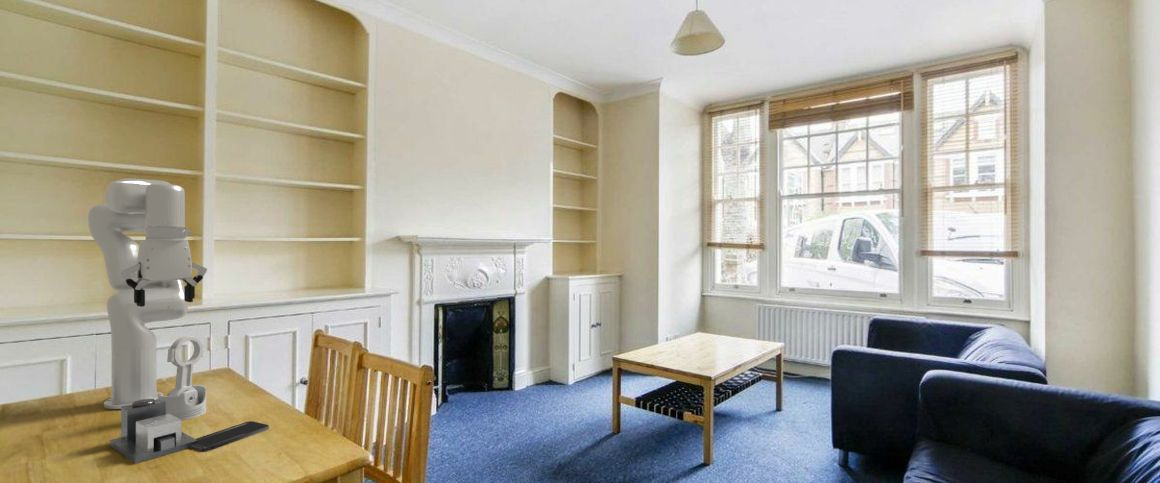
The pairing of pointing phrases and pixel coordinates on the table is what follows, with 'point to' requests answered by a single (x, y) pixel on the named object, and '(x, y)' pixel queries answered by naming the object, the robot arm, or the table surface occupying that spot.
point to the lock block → (157, 430)
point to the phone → (229, 435)
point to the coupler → (161, 444)
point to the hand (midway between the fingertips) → (165, 303)
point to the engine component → (185, 383)
